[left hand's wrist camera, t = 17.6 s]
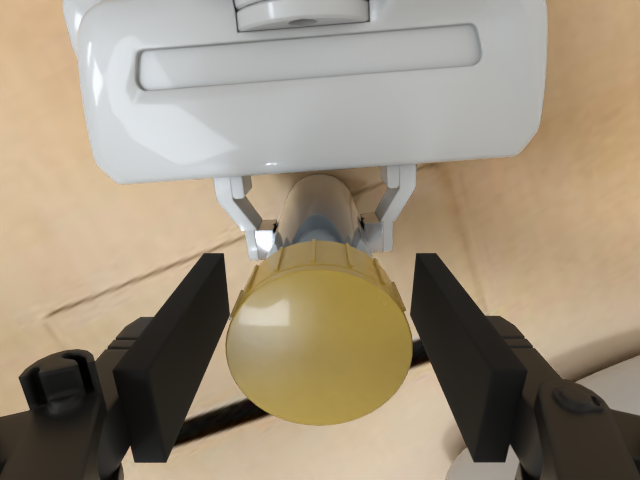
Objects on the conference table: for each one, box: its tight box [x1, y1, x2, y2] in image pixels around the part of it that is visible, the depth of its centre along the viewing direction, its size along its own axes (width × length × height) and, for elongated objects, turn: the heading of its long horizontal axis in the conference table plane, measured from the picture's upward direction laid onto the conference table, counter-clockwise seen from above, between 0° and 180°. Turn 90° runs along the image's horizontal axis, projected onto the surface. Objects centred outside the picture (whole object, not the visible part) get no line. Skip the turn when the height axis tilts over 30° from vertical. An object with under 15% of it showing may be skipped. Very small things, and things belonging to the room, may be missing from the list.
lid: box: [226, 239, 413, 426], centre depth 11 cm, size 5×5×2 cm
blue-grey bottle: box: [265, 174, 374, 259], centre depth 18 cm, size 5×5×15 cm
